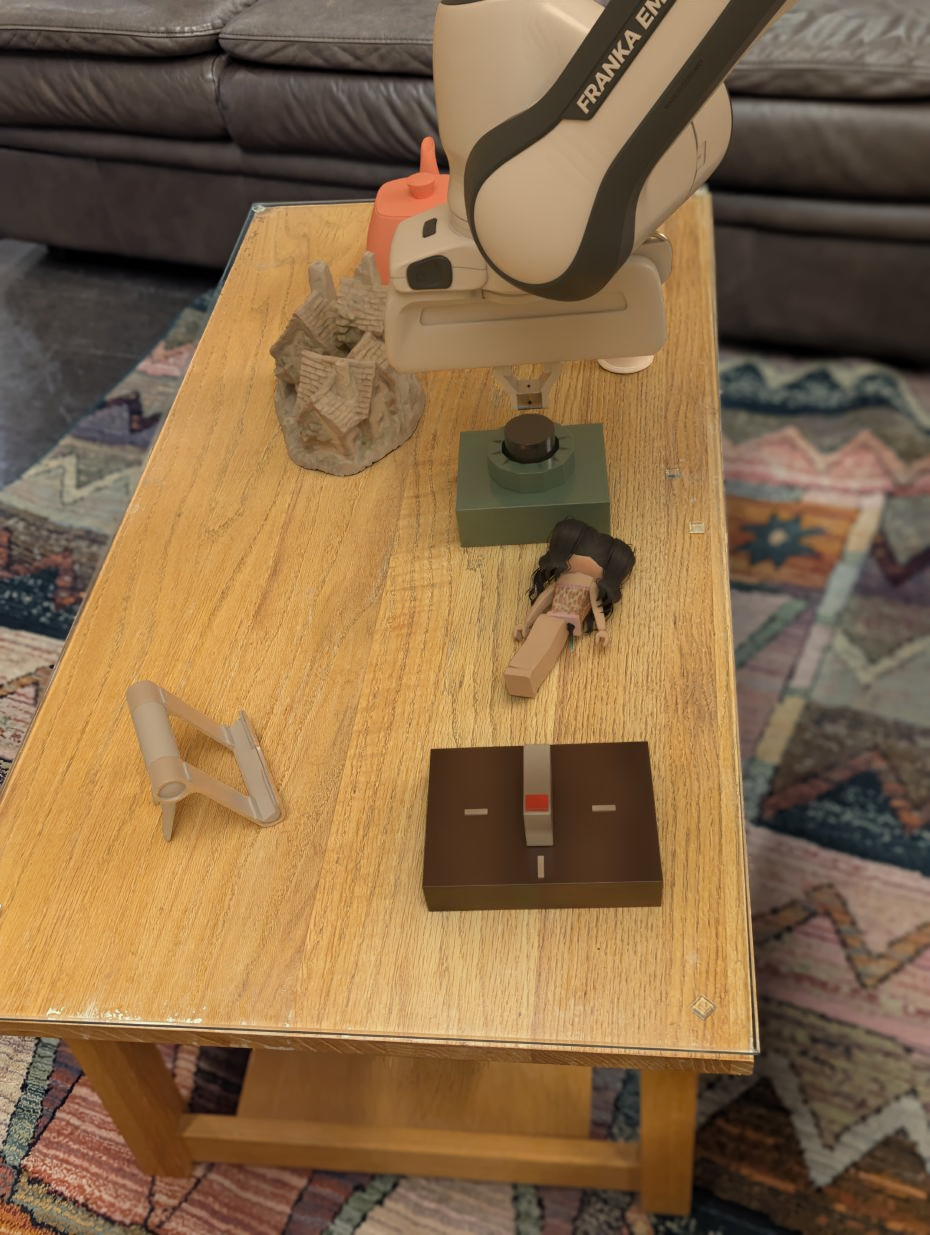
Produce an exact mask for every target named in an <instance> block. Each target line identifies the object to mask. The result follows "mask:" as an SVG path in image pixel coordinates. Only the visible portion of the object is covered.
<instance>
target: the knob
mask: <svg viewBox="0 0 930 1235" xmlns="http://www.w3.org/2000/svg"><path fill="white" fill-rule="evenodd" d="M553 422H554V421H553V420H552V419H551V418H550V417H548V416H546V415H544V414H540V413H535V412H534V413H533V412H528V413H522V414H519V415H516V416H513V417H512V418H510V419H509V420H508V421H507V422H506V423H505V425H504V426H505V427H504V440H505V451H506V455H507V457H508V458H509V459H510V460H512V461H514V462H517V463H521V464H532V463H540V462H543V461H545V460H547V459H550V458H551V457H552V456H553V454H554V452H555V450H556V443H555V426H554V423H553Z"/></svg>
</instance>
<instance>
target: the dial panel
mask: <svg viewBox="0 0 930 1235" xmlns="http://www.w3.org/2000/svg"><path fill="white" fill-rule="evenodd" d="M524 745H525V744H523V745H503V746H502V745H501V746H499V745H497V746H496V745H495V746H494V745H493V746H469V747H468V746H467V747H443V748H442V747H440V748H430V750H429V765H428V766H429V767H428V782H427V783H428V784H427V801H426V816H425V817H426V818H425V830H424V831H425V832H424V849H423V865H422V866H423V867H422V880H421V881H422V883H421V888H422V893H423V897H424V901H425V904H426V908H427V911H428V912H465V911H466V912H469V911H471V912H472V911H473V912H474V911H511V910H512V911H514V910H515V911H516V910H520V911H521V910H556V909H557V910H562V909H563V910H565V909H567V910H568V909H606V908H607V909H608V908H609V909H611V908H612V909H613V908H651V907H652V908H653V907H655V908H656V907H662V904H663V890H664V879H663V878H664V876H663V867H662V858H661V857H662V856H661V849H660V840H659V831H658V830H659V829H658V820H657V812H656V802H655V792H654V784H653V783H654V782H653V775H652V764H651V755H650V754H651V753H650V746H649V745H650V744H649V741H648V740H641V741H640V740H639V741H638V740H637V741H613V742H609V741H608V742H585V743H584V742H582V743H581V742H579V743H555V744H551V743H550V752H551V767H552V796H553V845H552V846H527V844H526V835H525V826H524V817H523V746H524Z"/></svg>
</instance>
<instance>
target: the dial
mask: <svg viewBox="0 0 930 1235" xmlns="http://www.w3.org/2000/svg"><path fill="white" fill-rule="evenodd" d="M523 745H524V746H523ZM523 745H522V746H523V817H524V826H525V835H526V844H527V846H552V845H553V796H552V767H551V752H550V745H551V743H527V744H526V743H525V744H523Z"/></svg>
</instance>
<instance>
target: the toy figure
mask: <svg viewBox="0 0 930 1235" xmlns="http://www.w3.org/2000/svg"><path fill="white" fill-rule="evenodd" d="M568 516H571V515H568ZM568 516H566V518H565V519H564V520H563V521H560V522H558V523H557V524H556V525H555V528H554V529H553V530H552V531H553V532H552V531H551V533H552V536H551V539H550V543H549V546H548V547H549V548H546V550H545V554H543V555H542V556H540V557H539V559H538V562H537V564H538V566H539V567H537V568H536V569H535V570H534V571H533V572H532V574H531V575H530V579H529V580H530V581H529V582H530V583H529V588H528V589H527V590H526V591H525V593H524V595H525V596H528V599H529V600H530V606H531V608H530V609H529V611H528V613H527V614H526V616H525V618H524V619H523V623H522V622H521V623H518V624H517V625H516V626H515V627H514V629H513V633H512V634H513V635H512V636H513V638H514V639H515V640H517V641H518V642H521V641H522V638H524V640H525V641H524V642H523V643H522V645H521V646H520V647H519V648H518V650H517V651H516V652H515V654H514V655H513V657H512V658H511V659H510V661H509V662H508V666H507V667H506V668H504V671H503V673H502V677H503V680H504V683H505V686H506V689H507V693H508V694H509V695H511V696H517V697H526V698H532V699H534V698H535V697H536V696H537V692H538V690H539V688H540V687H541V685H543V684H542V683H543V682H545V680H546V678H547V677H548V675H549V674H550V673H551V671H552V670H553V668H554V666H555V664H556V663H557V661H558V659H559V657H560V655H561V652H562V651H563V649H564V646H565V644H566V641H567V639H568V636H569V644H570V652H571V653H573V651H574V636H577V637H578V636H579V637H581V636H582V632H583V633H584V634H591V633H593V632H596V631H598V632H596V633H595V637H594V642H595V645H596V647H597V648H599V647H600V645H601V641H602V642H603V643H602V646H603V648H604V650H607V649H608V648H609V647H610V646H611V645H610V644H611V637H610V635H609V633H608V632H607V631H606V630H607V629H606V628H607V625H606V621H608V619H610V617H611V616H612V615H613V612H614V604H617V603H619V602H620V601H621V599H622V596H623V594H622V589H623V588H624V587H623V585H624V584H625V583H626V582H627V580H629V579H630V576H631V574H632V572H633V569H634V566H635V564H636V561H637V560H636V556H635V553H636V546H635V545H634V544H632V543H627V542H625V541H624V540H623V539H620V538H618V537H613V536H612V535H611V534H610V535H608V534H605V533H601V534H600V533H599V532H598V530H596V529H595V528H593V527H591V526H588V524H587V523H584V522H583V521H579V520H575V519H567V517H568ZM571 517H572V516H571ZM573 518H574V517H573ZM566 519H567V520H566ZM551 533H550V535H551ZM550 535H549V537H550ZM549 537H548V539H549ZM547 542H548V540H547ZM631 546H633V547H634V548H633V549H632V548H631ZM532 577H533V579H532ZM626 578H627V579H626ZM624 580H625V581H624ZM552 581H553V582H552ZM623 581H624V582H623ZM531 585H532V586H531ZM548 585H549V586H548ZM547 586H548V587H547ZM531 587H532V588H531ZM527 593H528V595H527ZM534 594H536V596H534V597H533V599H532V596H533V595H534ZM550 605H551V609H548V611H547V612H546V613H543V612H544V610H546V608H547V607H548V606H550ZM591 609H592V610H591ZM590 610H591V612H589V611H590ZM607 616H608V617H607ZM606 617H607V618H606ZM584 622H585V624H586V631H582V630H585V626H584ZM594 623H595V624H596V628H595V629H594V625H595V624H594ZM530 626H531V628H530Z"/></svg>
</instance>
